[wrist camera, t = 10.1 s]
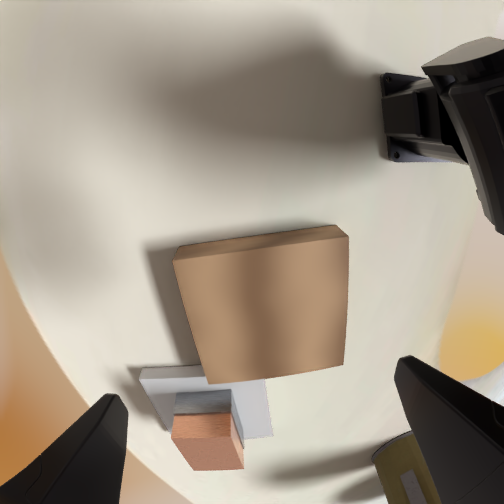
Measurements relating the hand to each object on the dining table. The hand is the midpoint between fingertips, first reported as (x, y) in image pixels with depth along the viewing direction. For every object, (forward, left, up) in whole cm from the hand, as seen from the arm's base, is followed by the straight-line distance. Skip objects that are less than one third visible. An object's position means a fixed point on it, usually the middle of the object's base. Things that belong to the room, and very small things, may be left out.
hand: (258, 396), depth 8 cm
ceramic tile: (+5, +16, -13) cm, 21 cm away
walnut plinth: (-1, +5, -13) cm, 14 cm away
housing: (+5, +16, -12) cm, 20 cm away
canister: (-20, +38, -13) cm, 45 cm away
